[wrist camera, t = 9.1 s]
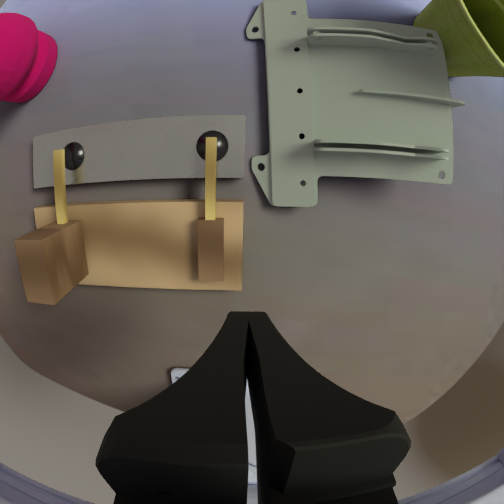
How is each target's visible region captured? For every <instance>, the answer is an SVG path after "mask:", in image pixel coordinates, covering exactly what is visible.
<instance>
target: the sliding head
mask: <svg viewBox="0 0 504 504" xmlns="http://www.w3.org/2000/svg"><path fill="white" fill-rule="evenodd" d="M53 170H54V192H55V206H56V217H57V221H55V222H52V223H50V224H48V225H45V226H43V227H41V228H39V229H37V230H34V231H32V232H30V233H28V234H26V235H24V236H22V237H19V238H17V239H15V240H14V241H15V247H16V253H17V258H18V263H19V268H20V273H21V277H22V282H23V286H24V290H25V294H26V298H27V301H28V302H33V303H41V304H48V305H56V304H57V303H58V302H59V301H60V300H61V299H62V298H63V297H64V296H65V295H66V294H67V293H68V292H69V291H71V290H72V289H73V288H74V287H75V286H76V285H77V284H78V283H79V282H81V281H82V280H83V279H84V278H85V277H86V276H87V275H88V274H89V272H88V266H87V259H86V252H85V244H84V236H83V227H82V220H68V214H67V202H66V187H65V149H60V150H54V151H53Z"/></svg>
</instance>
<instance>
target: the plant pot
mask: <svg viewBox="0 0 504 504" xmlns="http://www.w3.org/2000/svg"><path fill="white" fill-rule="evenodd" d="M413 26H414V27H420V28H425V29H430V30H435V31H437V33H438V35H439V37H440V38H441V40H442V44H443V49H444V54H445V60H446V66H447V73H448V76H449V77H464V76H492V77H504V0H432V1H431V2H430V3H429V4H428V5H427V6H426V7H425V8H424V9H423V10H422V11H421V13H420V14H419V15H418V16H417V17H416V18H415V20H414V24H413ZM426 35H427V37H432V35H431V34H426ZM432 38H433V37H432Z"/></svg>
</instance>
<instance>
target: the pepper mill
mask: <svg viewBox="0 0 504 504" xmlns="http://www.w3.org/2000/svg"><path fill="white" fill-rule="evenodd" d="M56 60H57V45H56V42H55V40H54V39H53V38H52V37H51V36H49V35H47V34H45V33H43V32H41V31H39V30H37V28H36V25H35V23H34V22H33V21H32V20H31V19H30V18H28V17H26V16H23V15H21V14H17V13H1V14H0V101H2V100H4V101H9V102H16V103H22V102H25V101H28V100H30V99H31V98H33V97H34V96H36V95H37V94H38V93H39V92H40V91H41V90H42V89H43V87H44V86H45V85H46V83H47V82H48V80H49V78H50V77H51V75H52V73H53V70H54V67H55V65H56Z"/></svg>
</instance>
